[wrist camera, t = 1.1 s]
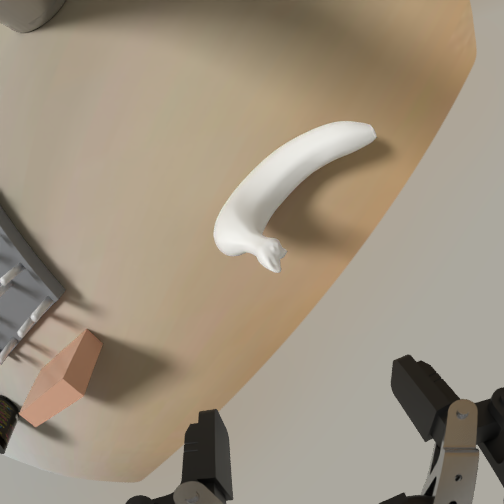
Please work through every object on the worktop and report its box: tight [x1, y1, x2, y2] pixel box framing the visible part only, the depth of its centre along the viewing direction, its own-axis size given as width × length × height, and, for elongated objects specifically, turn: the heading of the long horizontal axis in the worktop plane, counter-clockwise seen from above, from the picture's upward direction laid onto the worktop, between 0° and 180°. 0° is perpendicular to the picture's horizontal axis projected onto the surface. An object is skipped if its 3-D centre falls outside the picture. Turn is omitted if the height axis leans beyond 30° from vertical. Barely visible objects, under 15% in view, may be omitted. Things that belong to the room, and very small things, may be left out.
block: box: [19, 329, 103, 427], centre depth 29 cm, size 14×3×10 cm, turn 126°
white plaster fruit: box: [214, 121, 377, 272], centre depth 24 cm, size 5×19×15 cm, turn 130°
